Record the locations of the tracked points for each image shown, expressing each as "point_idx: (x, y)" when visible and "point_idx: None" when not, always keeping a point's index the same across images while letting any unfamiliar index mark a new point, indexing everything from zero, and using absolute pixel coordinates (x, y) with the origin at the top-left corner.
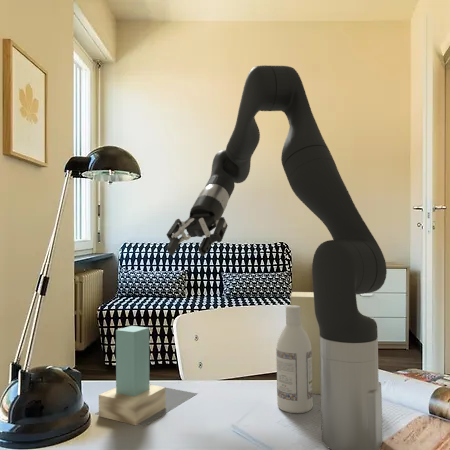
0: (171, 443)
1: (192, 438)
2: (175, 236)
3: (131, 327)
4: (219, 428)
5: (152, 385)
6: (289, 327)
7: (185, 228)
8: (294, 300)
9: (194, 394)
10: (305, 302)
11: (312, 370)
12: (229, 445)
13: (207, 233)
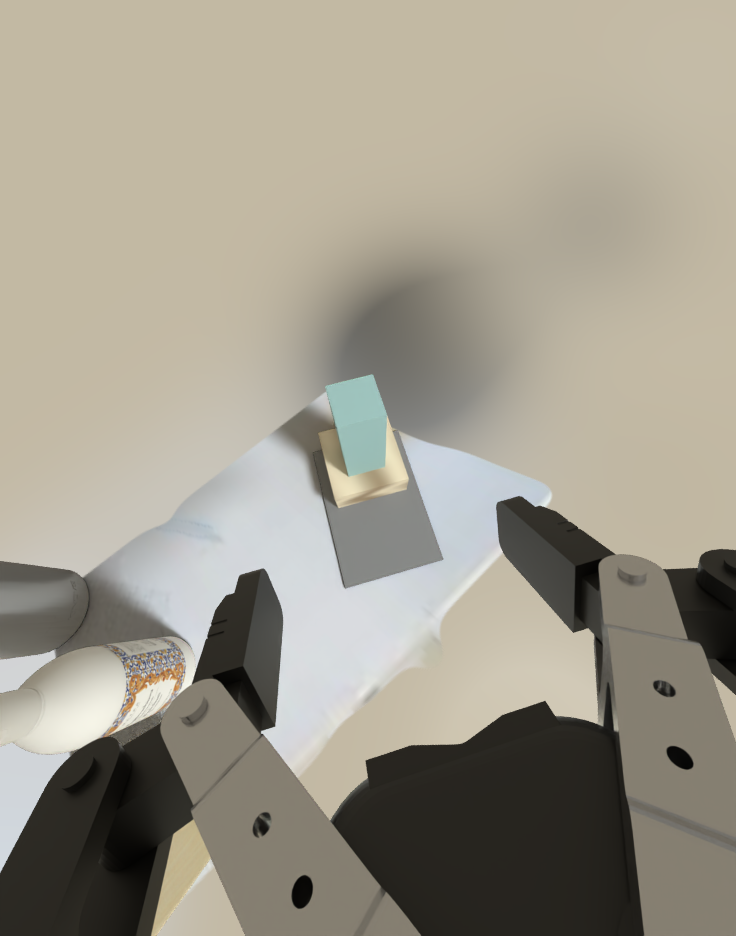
0: (253, 452)
1: (241, 476)
2: (599, 575)
3: (370, 405)
4: (229, 519)
5: (359, 490)
6: (32, 682)
7: (611, 699)
8: None
9: (345, 580)
10: None
11: None
12: (191, 494)
13: (204, 732)
